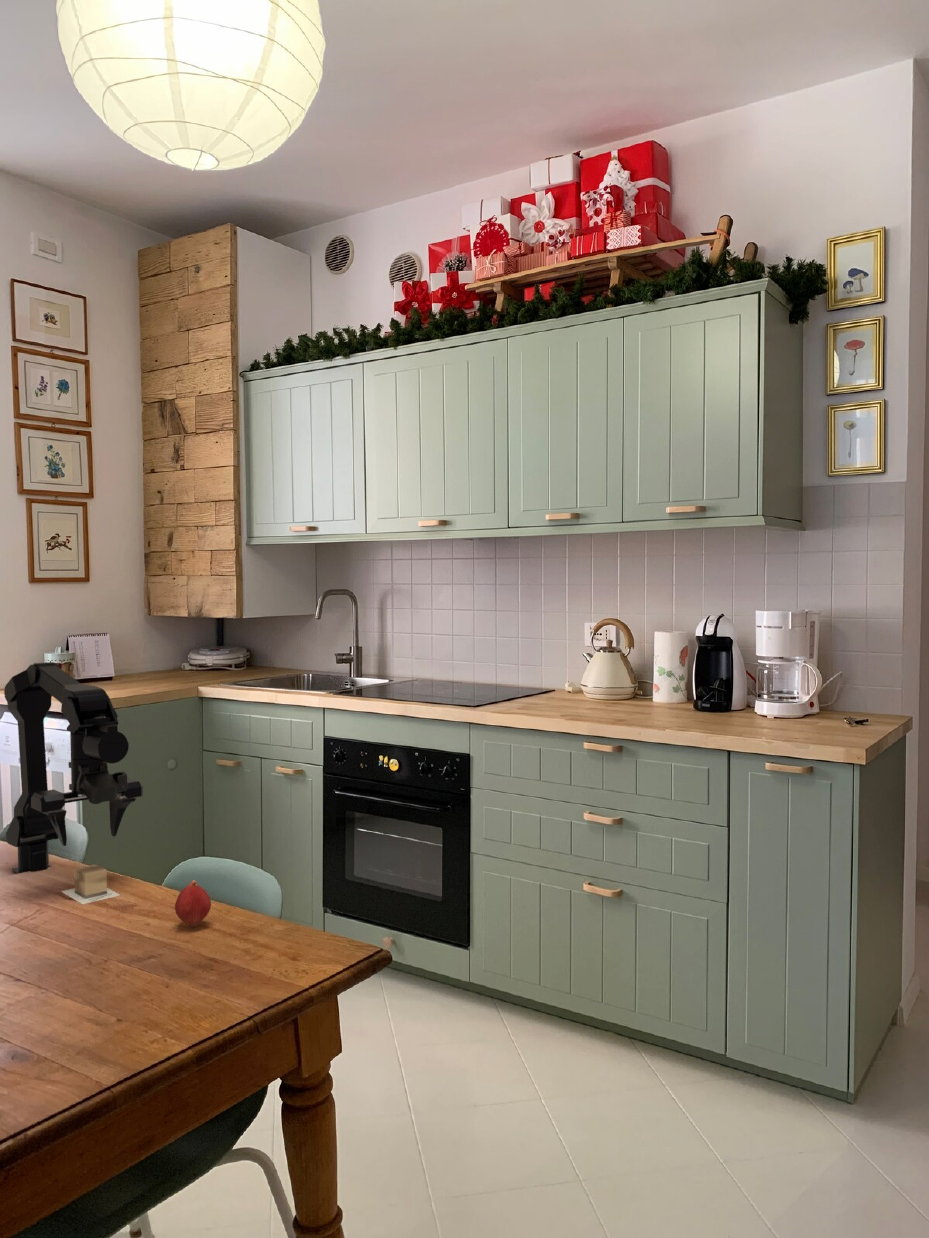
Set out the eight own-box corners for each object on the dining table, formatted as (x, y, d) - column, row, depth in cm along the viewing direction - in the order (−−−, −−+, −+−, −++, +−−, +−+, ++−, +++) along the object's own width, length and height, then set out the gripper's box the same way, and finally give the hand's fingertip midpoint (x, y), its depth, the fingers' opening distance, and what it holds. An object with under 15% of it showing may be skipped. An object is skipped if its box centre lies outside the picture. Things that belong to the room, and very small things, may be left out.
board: (61, 896, 175) (61, 891, 175) (98, 887, 180) (98, 882, 180) (82, 909, 168) (82, 903, 168) (120, 900, 173) (120, 894, 173)
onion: (168, 930, 157) (167, 883, 157) (188, 919, 163) (187, 873, 163) (198, 934, 156) (197, 886, 155) (217, 922, 161) (216, 876, 161)
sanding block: (74, 892, 174) (74, 868, 174) (95, 887, 177) (95, 864, 177) (85, 898, 171) (85, 874, 171) (107, 893, 174) (106, 869, 174)
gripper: (52, 769, 161) (54, 859, 162) (155, 755, 174) (156, 839, 175) (28, 761, 169) (31, 847, 170) (129, 748, 182) (130, 828, 183)
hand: (89, 840), depth 174 cm, fingers open, 9 cm apart
